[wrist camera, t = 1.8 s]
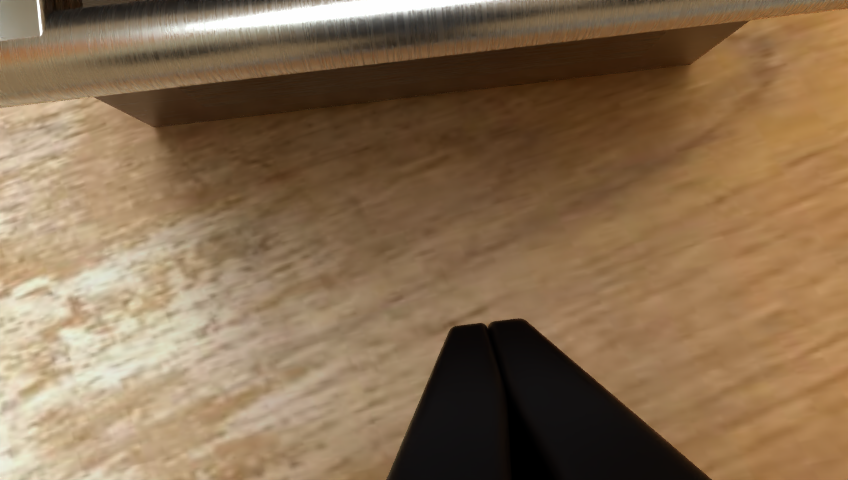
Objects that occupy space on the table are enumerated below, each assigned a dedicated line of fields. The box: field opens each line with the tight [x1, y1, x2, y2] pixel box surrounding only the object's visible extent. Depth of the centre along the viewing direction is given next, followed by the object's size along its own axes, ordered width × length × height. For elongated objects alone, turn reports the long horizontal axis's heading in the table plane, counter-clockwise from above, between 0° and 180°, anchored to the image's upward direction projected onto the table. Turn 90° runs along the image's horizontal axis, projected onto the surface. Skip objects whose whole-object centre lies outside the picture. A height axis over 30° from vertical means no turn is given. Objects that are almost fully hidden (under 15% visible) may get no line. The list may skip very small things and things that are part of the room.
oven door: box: [0, 0, 848, 127], centre depth 15 cm, size 4×18×15 cm, turn 96°
